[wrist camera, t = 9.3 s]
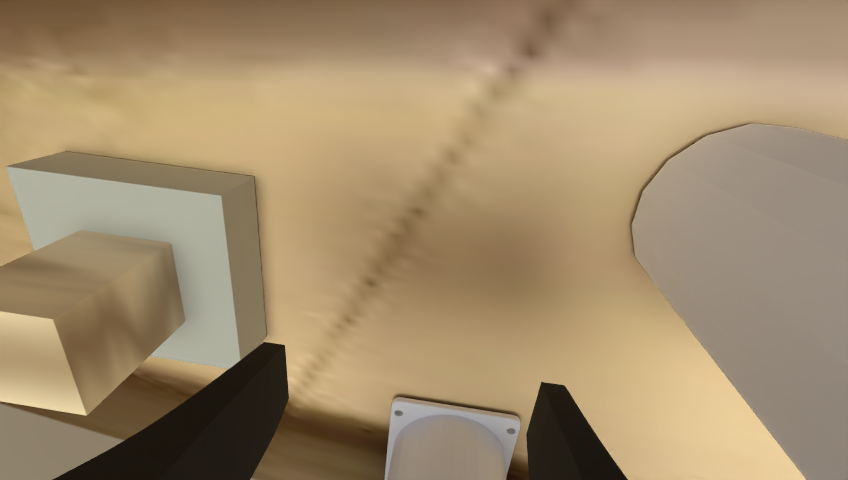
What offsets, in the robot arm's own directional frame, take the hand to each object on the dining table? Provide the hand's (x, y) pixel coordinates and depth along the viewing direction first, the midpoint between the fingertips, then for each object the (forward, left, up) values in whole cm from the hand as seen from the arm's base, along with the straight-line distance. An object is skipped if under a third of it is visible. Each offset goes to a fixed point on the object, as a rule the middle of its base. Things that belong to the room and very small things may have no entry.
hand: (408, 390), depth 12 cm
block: (-3, +14, -7) cm, 16 cm away
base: (-3, +14, -10) cm, 18 cm away
